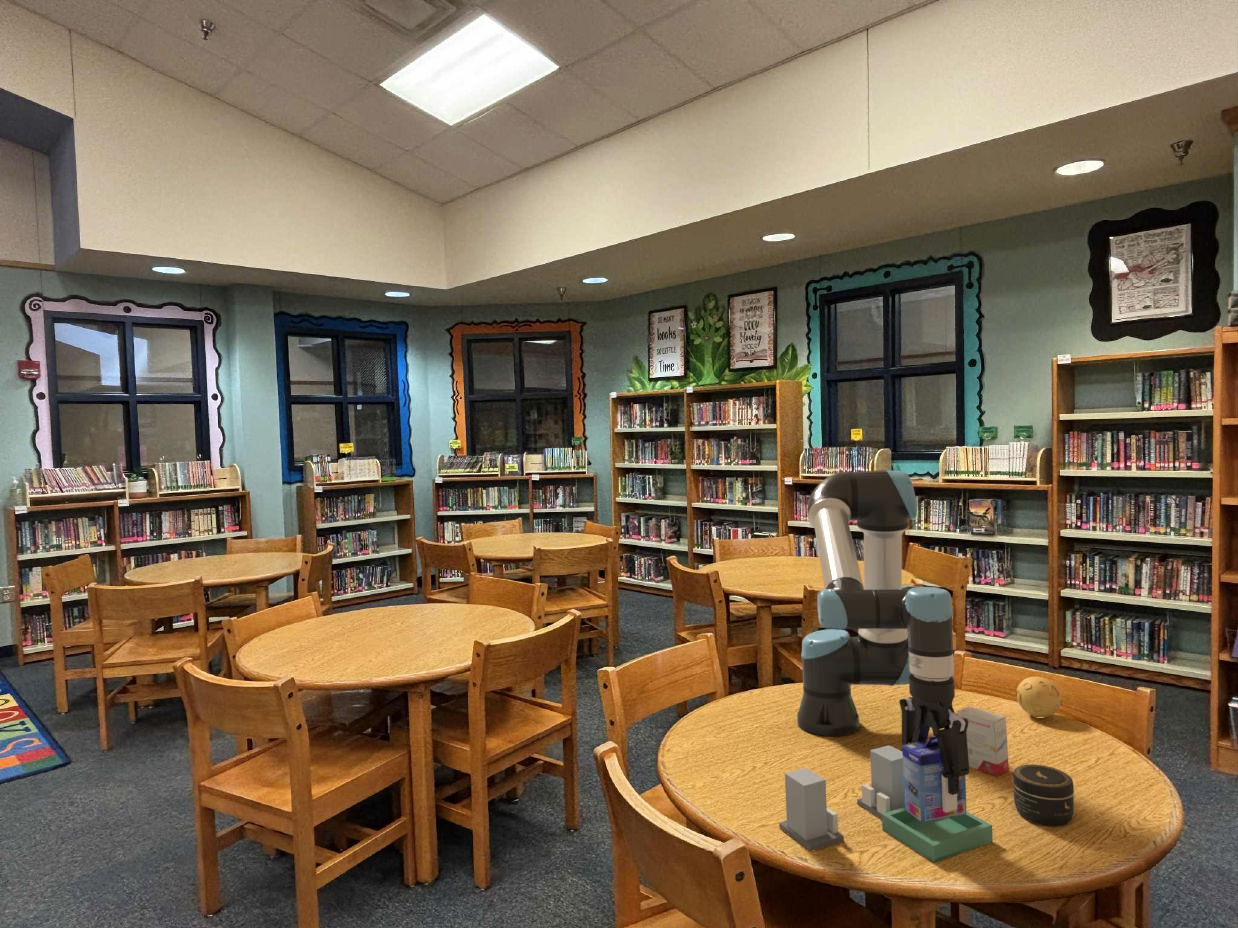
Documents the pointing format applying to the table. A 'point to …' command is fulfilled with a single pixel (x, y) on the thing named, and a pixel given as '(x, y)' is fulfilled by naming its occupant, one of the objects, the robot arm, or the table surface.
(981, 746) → the ink box
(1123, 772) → the table surface
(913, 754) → the ink cartridge box
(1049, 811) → the jar
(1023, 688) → the stress ball
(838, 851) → the table surface
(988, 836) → the tray
